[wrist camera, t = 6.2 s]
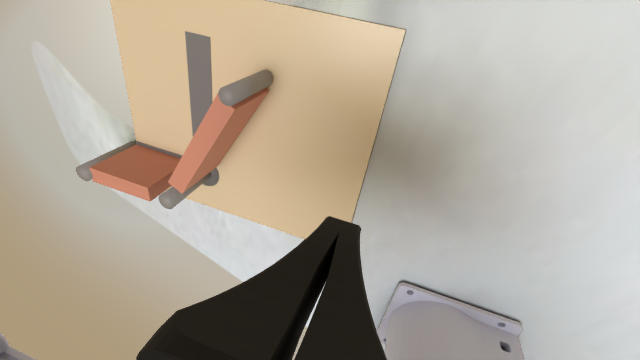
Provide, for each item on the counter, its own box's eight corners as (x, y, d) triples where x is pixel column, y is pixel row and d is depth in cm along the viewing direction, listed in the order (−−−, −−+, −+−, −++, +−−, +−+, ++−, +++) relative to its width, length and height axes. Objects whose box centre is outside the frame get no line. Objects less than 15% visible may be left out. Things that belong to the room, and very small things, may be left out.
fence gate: (262, 65, 19) (222, 81, 15) (277, 78, 19) (240, 97, 15) (205, 155, 24) (164, 184, 20) (217, 166, 24) (179, 196, 20)
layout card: (405, 29, 16) (405, 30, 16) (343, 249, 25) (342, 252, 25) (108, -33, 19) (103, -33, 19) (146, 182, 28) (143, 184, 28)
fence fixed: (213, 166, 25) (171, 198, 21) (214, 178, 26) (173, 211, 21) (128, 139, 26) (74, 164, 22) (131, 151, 27) (78, 178, 23)
